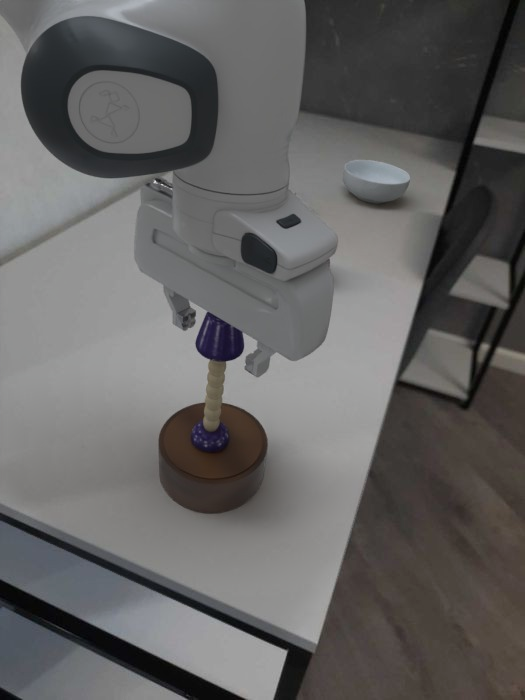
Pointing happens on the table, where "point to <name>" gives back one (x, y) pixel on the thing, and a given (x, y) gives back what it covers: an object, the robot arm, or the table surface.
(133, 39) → the robot arm
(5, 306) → the table surface
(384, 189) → the cereal bowl
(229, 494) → the wooden drum
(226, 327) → the toy lamp
